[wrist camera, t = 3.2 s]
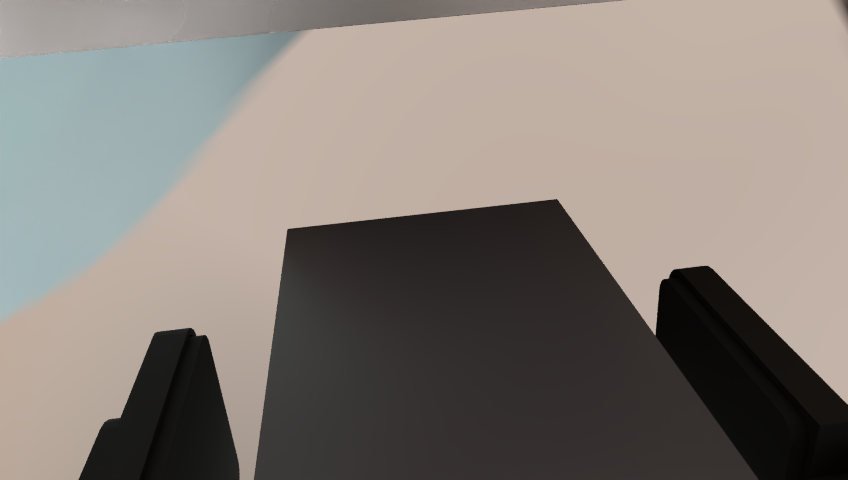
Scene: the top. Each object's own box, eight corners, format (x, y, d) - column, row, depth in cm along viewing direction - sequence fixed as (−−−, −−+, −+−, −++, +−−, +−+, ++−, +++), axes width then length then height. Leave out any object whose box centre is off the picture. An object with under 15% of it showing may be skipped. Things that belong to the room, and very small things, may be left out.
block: (288, 228, 12) (237, 595, 6) (557, 199, 12) (784, 517, 6) (323, 440, 14) (316, 881, 8) (554, 410, 14) (723, 809, 8)
